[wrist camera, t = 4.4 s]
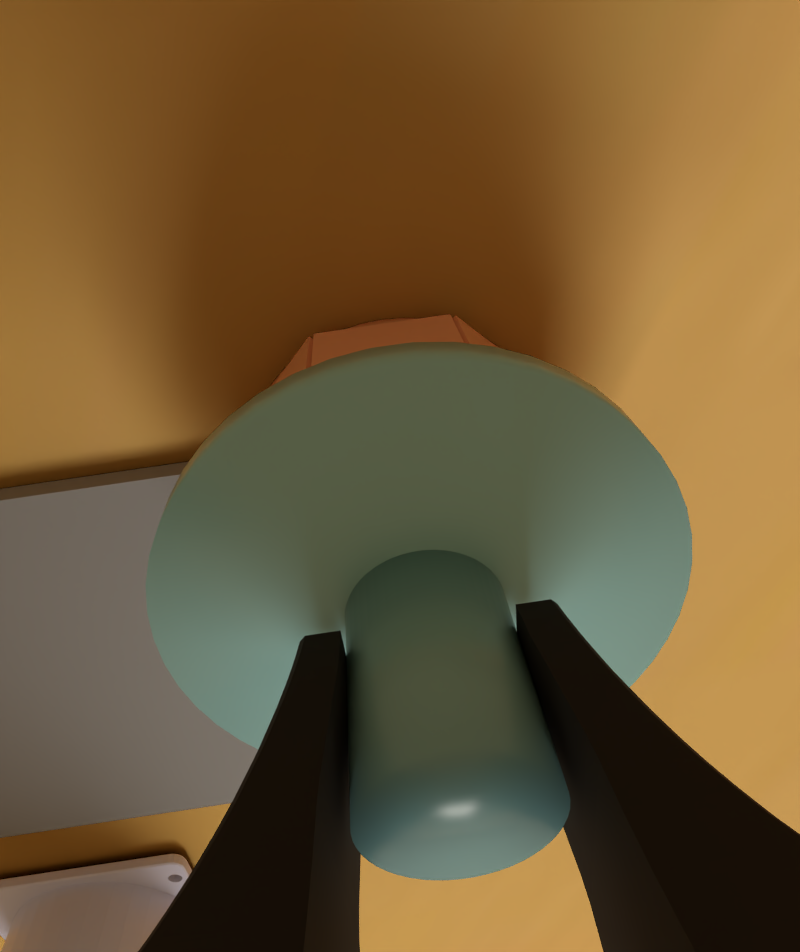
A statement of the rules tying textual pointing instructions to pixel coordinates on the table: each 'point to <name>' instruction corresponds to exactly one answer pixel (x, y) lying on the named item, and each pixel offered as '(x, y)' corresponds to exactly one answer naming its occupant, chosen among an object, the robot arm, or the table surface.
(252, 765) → the robot arm
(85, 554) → the mat
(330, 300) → the table surface
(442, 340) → the bowl
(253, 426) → the lid
